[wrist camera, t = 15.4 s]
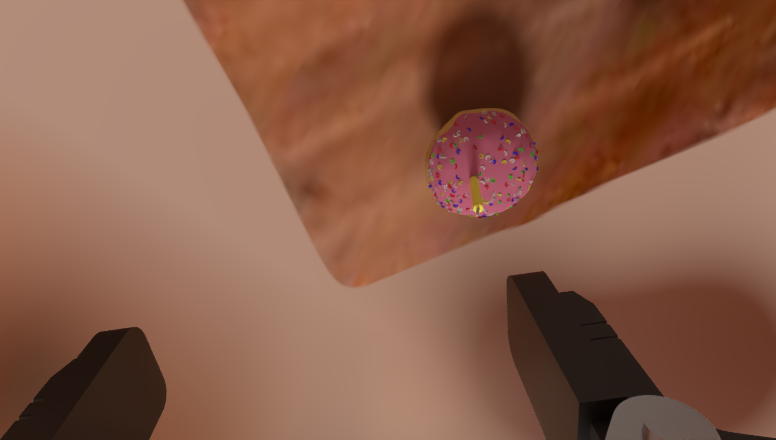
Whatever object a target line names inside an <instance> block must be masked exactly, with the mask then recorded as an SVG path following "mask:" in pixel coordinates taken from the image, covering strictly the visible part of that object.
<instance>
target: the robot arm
mask: <svg viewBox="0 0 776 440" xmlns="http://www.w3.org/2000/svg"><path fill="white" fill-rule="evenodd" d="M507 316H508V317H507V318H508V339H509V345H510V350H511V354H512V358H513V361H514V363H515V366H516V368H517V371H518V373H519V375H520V378H521V380H522V383H523V385H524V387H525V390H526V392H527V395H528V397H529V399H530V402H531V404H532V406H533V409H534V411H535V414H536V416H537V418H538V421H539V423H540V426H541V428H542V430H543V433H544V435H545V437H546V440H776V438H770V437H762V436H754V435H746V434H739V433H733V432H727V431H722V430H718V429H715V428H714V426H713V425H712V424H711V423H710V422H709V421H708V420H707V419H706V418H705V417H704V416H702V415H701V414H700V413H699V412H697V411H696V410H694V409H693V408H691V407H689V406H687V405H685V404H683V403H681V402H679V401H676V400H673V399H670V398H666V397H664V396H663V395H662V394H661V392H660V391H659V390H658V388H657V387H656V386H655V384H654V383H653V382H652V380H651V379H650V378H649V376H648V375H647V374H646V372H645V371H644V370H643V368H642V367H641V366H640V364H639V363H638V362H637V360H636V359H635V358H634V356H633V355H632V354H631V353H630V351H629V350H628V349H627V347H626V346H625V345H624V343H623V342H622V341H621V339H618V336H617V334H616V333H615V331H614V330H613V329H612V327H611V326H610V325H607V321H606V320H605V318H604V317H603V316H602V314H601V313H600V312H599V311H598V309H597V308H596V306H595V305H594V304H593V303H591V302H590V301H588V300H586V299H585V298H583V297H582V296H580V295H578V294H577V293H575V292H574V291H569V292H561V293H558V291H557V290H556V288H555V287H554V285H553V284H552V282H551V281H550V279H549V278H548V276H547V275H546V273H545V272H543V271H541V272H533V273H526V274H519V275H512V276H508V278H507ZM165 402H166V384H165V380H164V377H163V375H162V373H161V371H160V368H159V366H158V364H157V361H156V359H155V357H154V355H153V353H152V350H151V348H150V345H149V343H148V341H147V339H146V337H145V334H144V333H143V331H142V330H141V329H140V328H138V327H130V328H123V329H116V330H109V331H102V332H99V333H97V334H96V335H95V336H94V337H93V338H92V339H91V341H90V342H89V343H88V344H87V346H86V347H85V348H84V349H83V351H82V352H81V353H80V355H79V356H78V357H77V358H76V359H74V360H72V361H71V362H70V363H69V364H67V365H66V366H65V367H64V368H62V369H61V370H60V371H59V372H57V373H56V374H55V375H53V376H52V377H51V378H50V379H49V380H48V382H47V383H46V384H45V385H44V387H43V388H42V389H41V390H40V391H39V393H38V394H37V395H36V396H35V398H34V402H33V403H30V404H29V405H28V406H27V407H26V408H25V410H24V411H23V412H22V414H21V415H20V416H19V417H20V418H19V421H15V422H14V423H13V425H12V426H11V427H10V428H9V429H8V431H7V432H6V433H5V434H4V435H3V437H2V438H1V439H0V440H149V439H150V437H151V434H152V432H153V430H154V428H155V426H156V424H157V422H158V420H159V418H160V416H161V414H162V411H163V409H164V406H165Z"/></svg>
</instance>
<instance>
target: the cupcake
mask: <svg viewBox="0 0 776 440" xmlns="http://www.w3.org/2000/svg"><path fill="white" fill-rule="evenodd" d="M537 154H538V150H537V146H536V142H535V140H534V138H533V136H532V134H531V133H530V132H529V130H528V129H527V128H526V127H525V126H524V125H523V123H522V122H521V121H520V120H519V119H518V118H517V117H516V116H515V115H514V114H513V113H511V112H509V111H507V110H504V109H499V108H482V109H472V110H464V111H461V112H458V113H457V114H456V115H455V116H454V117H453V118H452V119H451V120H449V121H448V122H447V123H446V124H445V125H444V126H443V127H442V128H441V130H440V131H439V132H438V133H437V134H436V136H435V137H434V138H433V140H432V142H431V144H430V146H429V148H428V151H427V154H426V178H427V181H428V184H429V188H430V189H431V191H432V193H433V196H434V198H435V200H436V202H437V204H440V205H441V206H442V207H443V208H445V209H447V210H448V211H449V212H454V213H458V214H463V215H468V217H472V216H477V217H478V218H482V217H486V216H491V215H493V214H496V215H499V214H498V213H500V212H503V211H505V210H506V209H508V208H511V207H512V206H515V205H516V202H518V201H519V200H520V199H521V198H522V197H523V196H524V195H525V194H526V193H527V192H528V191H529V189H530V187H532V182H533V180H534V177H535V174H536V171H537V170H538V167H537V165H538V159H539V158H538V156H537Z"/></svg>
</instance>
